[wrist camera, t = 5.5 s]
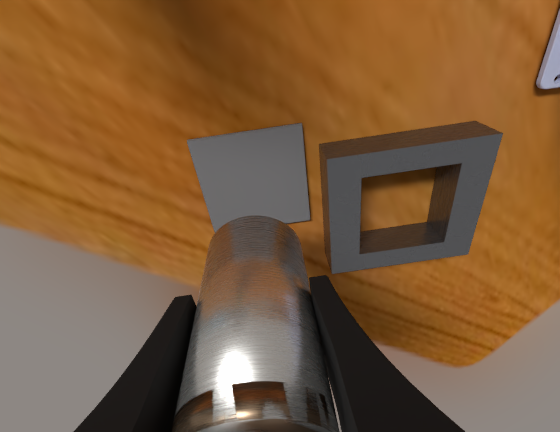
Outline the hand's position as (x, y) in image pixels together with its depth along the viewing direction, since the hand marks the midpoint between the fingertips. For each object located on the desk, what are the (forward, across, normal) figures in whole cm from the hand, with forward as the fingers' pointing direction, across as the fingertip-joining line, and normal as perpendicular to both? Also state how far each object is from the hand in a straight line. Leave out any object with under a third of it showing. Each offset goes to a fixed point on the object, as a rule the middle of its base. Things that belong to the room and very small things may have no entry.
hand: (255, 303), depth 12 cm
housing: (+10, -10, +2) cm, 14 cm away
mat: (+10, 0, 0) cm, 10 cm away
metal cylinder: (+3, 0, 0) cm, 3 cm away
